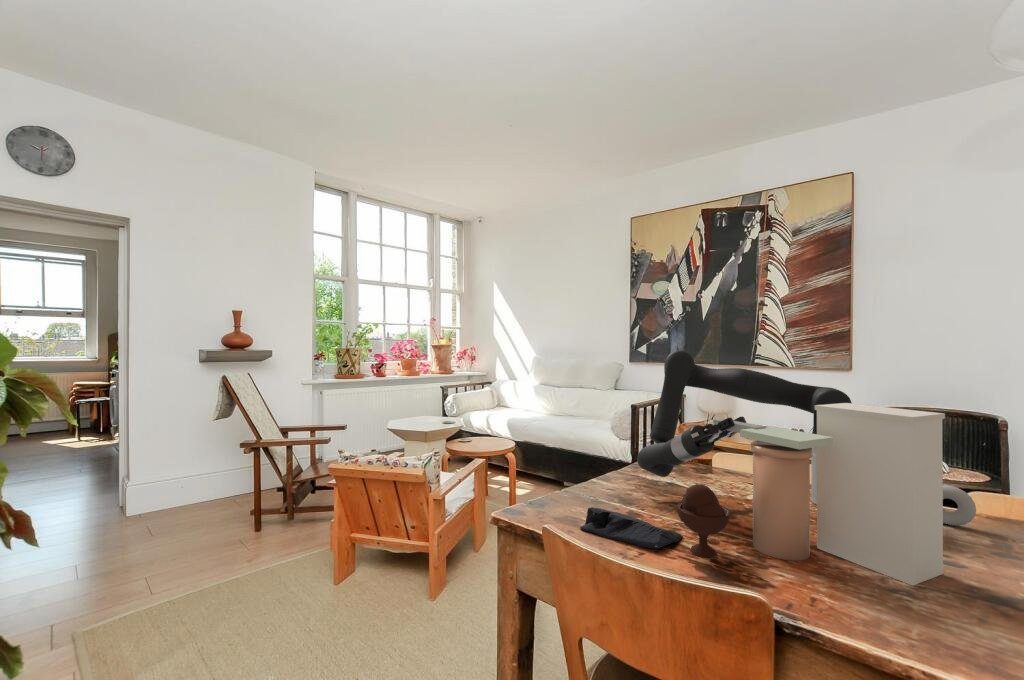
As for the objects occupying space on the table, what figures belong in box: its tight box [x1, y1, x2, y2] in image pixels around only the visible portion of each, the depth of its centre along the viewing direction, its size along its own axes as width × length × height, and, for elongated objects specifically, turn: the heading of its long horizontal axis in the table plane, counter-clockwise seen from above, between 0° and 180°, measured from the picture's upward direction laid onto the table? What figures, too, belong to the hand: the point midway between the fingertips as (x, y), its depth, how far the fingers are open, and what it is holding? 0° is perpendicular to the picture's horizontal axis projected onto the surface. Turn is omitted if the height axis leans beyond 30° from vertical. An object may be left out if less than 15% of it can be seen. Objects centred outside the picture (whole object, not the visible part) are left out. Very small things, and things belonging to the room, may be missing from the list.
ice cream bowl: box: [676, 483, 731, 559], centre depth 103 cm, size 11×11×15 cm
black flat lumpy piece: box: [579, 506, 683, 550], centre depth 114 cm, size 15×22×5 cm
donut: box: [943, 484, 977, 527], centre depth 120 cm, size 10×4×10 cm, turn 40°
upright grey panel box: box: [815, 403, 946, 586], centre depth 100 cm, size 12×19×32 cm, turn 25°
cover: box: [712, 418, 833, 449], centre depth 109 cm, size 11×25×2 cm, turn 25°
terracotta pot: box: [749, 440, 812, 561], centre depth 105 cm, size 12×12×23 cm
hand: (738, 420), depth 115 cm, fingers closed on cover, 3 cm apart
